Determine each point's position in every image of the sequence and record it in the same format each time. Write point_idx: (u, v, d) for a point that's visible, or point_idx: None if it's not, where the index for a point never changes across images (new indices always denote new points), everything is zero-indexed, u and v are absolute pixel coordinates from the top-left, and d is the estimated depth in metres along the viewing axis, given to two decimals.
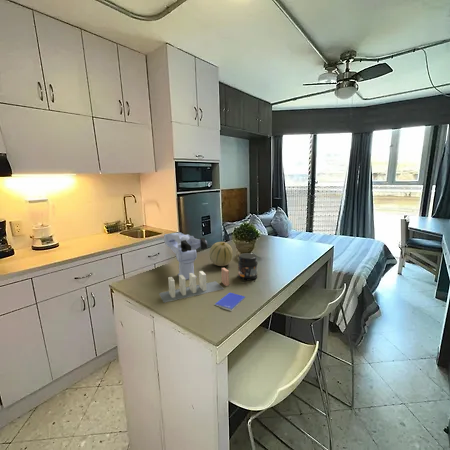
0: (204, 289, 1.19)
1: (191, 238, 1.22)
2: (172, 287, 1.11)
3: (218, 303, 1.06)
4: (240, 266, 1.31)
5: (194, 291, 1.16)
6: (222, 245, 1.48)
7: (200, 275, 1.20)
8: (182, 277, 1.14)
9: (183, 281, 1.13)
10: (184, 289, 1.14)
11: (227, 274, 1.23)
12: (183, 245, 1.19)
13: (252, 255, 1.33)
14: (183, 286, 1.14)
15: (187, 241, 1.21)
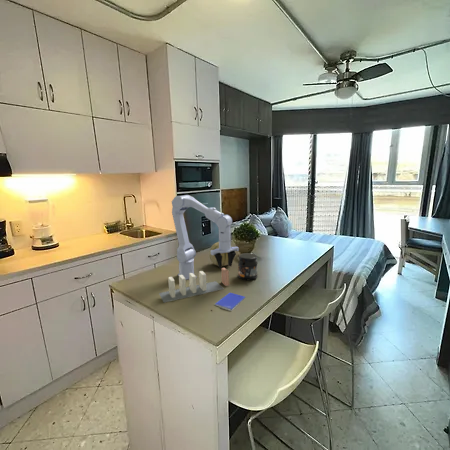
0: (204, 289, 1.19)
1: (226, 252, 1.20)
2: (172, 287, 1.11)
3: (218, 303, 1.05)
4: (240, 266, 1.31)
5: (194, 291, 1.16)
6: None
7: (200, 275, 1.20)
8: (182, 277, 1.14)
9: (183, 281, 1.13)
10: (184, 289, 1.14)
11: (227, 274, 1.23)
12: None
13: (252, 255, 1.33)
14: (183, 286, 1.14)
15: (221, 252, 1.20)
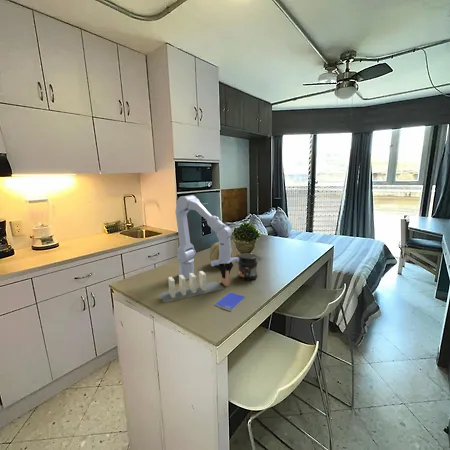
0: (204, 289, 1.19)
1: None
2: (172, 287, 1.11)
3: (218, 303, 1.05)
4: (240, 266, 1.31)
5: (194, 291, 1.16)
6: None
7: (200, 275, 1.20)
8: (182, 277, 1.14)
9: (183, 281, 1.13)
10: (184, 289, 1.14)
11: (227, 274, 1.23)
12: None
13: (252, 255, 1.33)
14: (183, 286, 1.14)
15: (222, 263, 1.21)
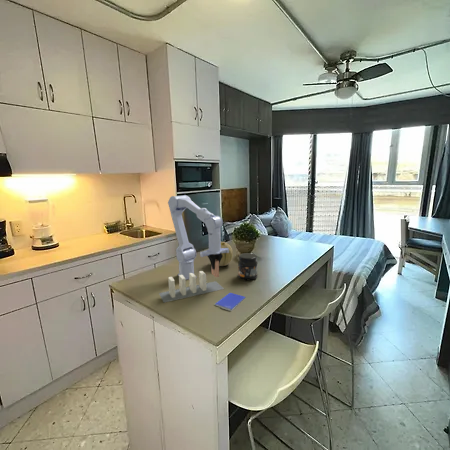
0: (204, 289, 1.19)
1: (216, 253, 1.18)
2: (172, 287, 1.11)
3: (218, 303, 1.05)
4: (240, 266, 1.31)
5: (194, 291, 1.16)
6: (222, 245, 1.48)
7: (200, 275, 1.20)
8: (182, 277, 1.14)
9: (183, 281, 1.13)
10: (184, 289, 1.14)
11: (217, 264, 1.20)
12: None
13: (252, 255, 1.33)
14: (183, 286, 1.14)
15: (211, 253, 1.18)
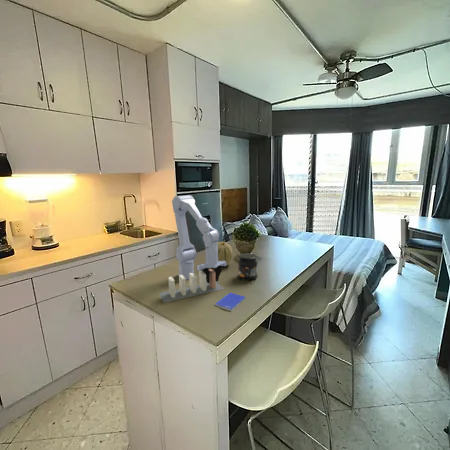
0: (204, 289, 1.19)
1: None
2: (172, 287, 1.11)
3: (218, 303, 1.05)
4: (240, 266, 1.31)
5: (194, 291, 1.16)
6: (222, 245, 1.48)
7: (200, 275, 1.20)
8: (182, 277, 1.14)
9: (183, 281, 1.13)
10: (184, 289, 1.14)
11: (214, 276, 1.20)
12: None
13: (252, 255, 1.33)
14: (183, 286, 1.14)
15: None
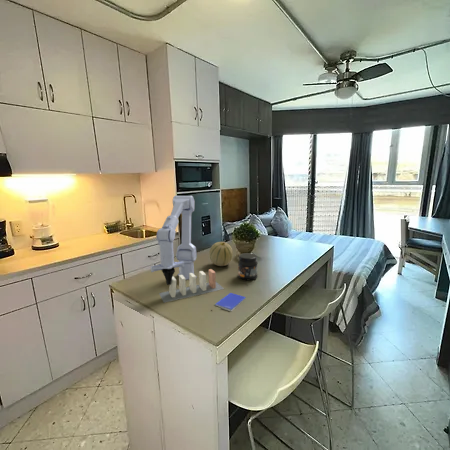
0: (204, 289, 1.19)
1: None
2: (173, 287, 1.12)
3: (218, 303, 1.05)
4: (240, 266, 1.31)
5: (194, 291, 1.16)
6: (222, 245, 1.48)
7: (200, 275, 1.20)
8: (182, 277, 1.14)
9: (183, 281, 1.13)
10: (184, 289, 1.14)
11: (214, 276, 1.20)
12: None
13: (252, 255, 1.33)
14: (183, 286, 1.14)
15: (163, 268, 1.09)
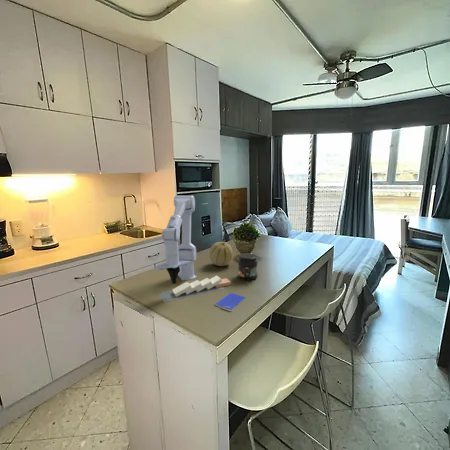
0: (208, 287, 1.19)
1: None
2: (185, 289, 1.14)
3: (218, 303, 1.05)
4: (240, 266, 1.31)
5: (198, 289, 1.17)
6: (222, 245, 1.48)
7: (215, 277, 1.24)
8: (200, 283, 1.19)
9: (199, 285, 1.17)
10: (191, 290, 1.16)
11: (227, 284, 1.24)
12: None
13: (252, 255, 1.33)
14: (194, 288, 1.16)
15: (168, 267, 1.10)
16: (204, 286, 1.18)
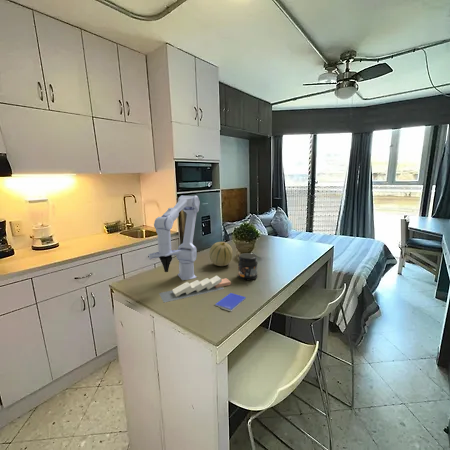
0: (208, 287, 1.19)
1: (166, 255, 1.12)
2: (185, 289, 1.14)
3: (218, 303, 1.05)
4: (240, 266, 1.31)
5: (198, 289, 1.17)
6: (222, 245, 1.48)
7: (215, 277, 1.24)
8: (200, 283, 1.19)
9: (199, 285, 1.17)
10: (191, 290, 1.16)
11: (227, 284, 1.24)
12: None
13: (252, 255, 1.33)
14: (194, 288, 1.16)
15: (160, 255, 1.12)
16: (204, 286, 1.18)
